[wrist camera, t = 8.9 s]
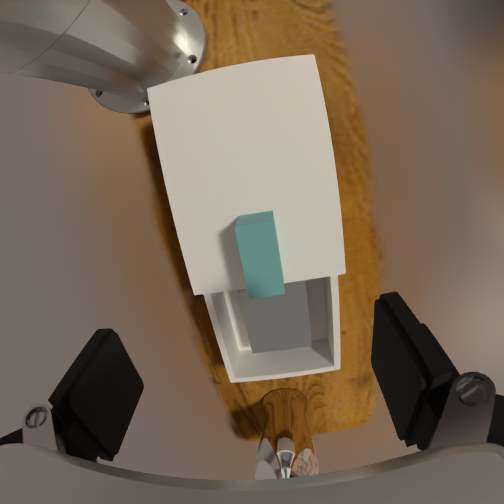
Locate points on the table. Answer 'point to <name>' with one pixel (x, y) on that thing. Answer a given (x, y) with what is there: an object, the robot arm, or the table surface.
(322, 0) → the table surface
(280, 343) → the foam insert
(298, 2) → the table surface
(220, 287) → the box lid
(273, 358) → the mailer box
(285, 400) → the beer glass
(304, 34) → the table surface
